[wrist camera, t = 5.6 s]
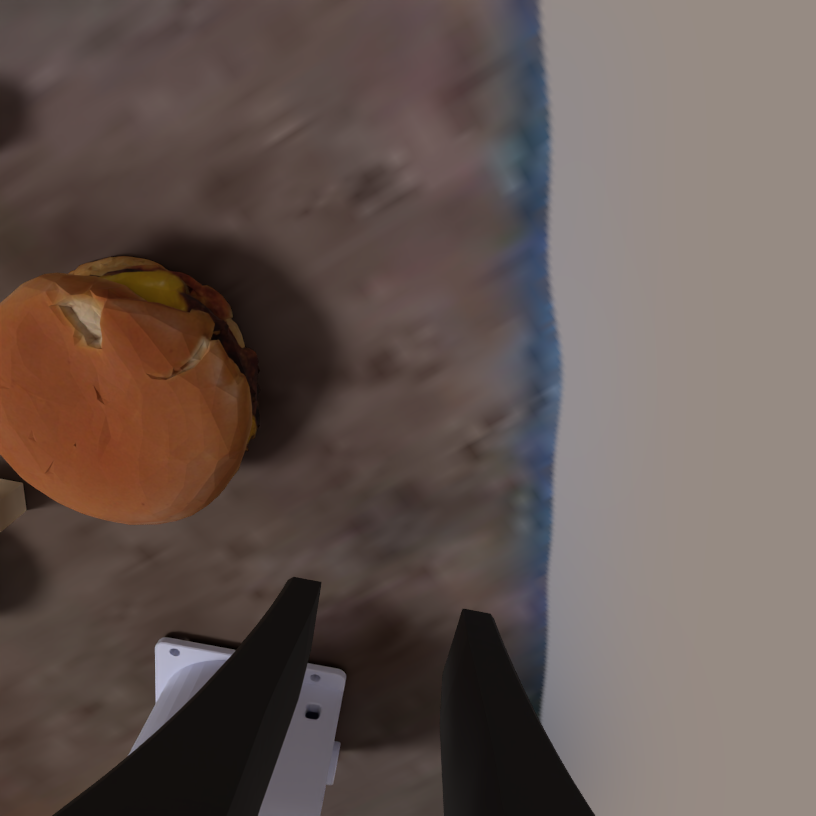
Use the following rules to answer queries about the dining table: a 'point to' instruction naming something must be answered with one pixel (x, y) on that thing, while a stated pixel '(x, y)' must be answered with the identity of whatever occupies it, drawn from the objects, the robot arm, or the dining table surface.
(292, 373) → the dining table surface
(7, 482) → the bay
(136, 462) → the burger
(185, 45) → the dining table surface
